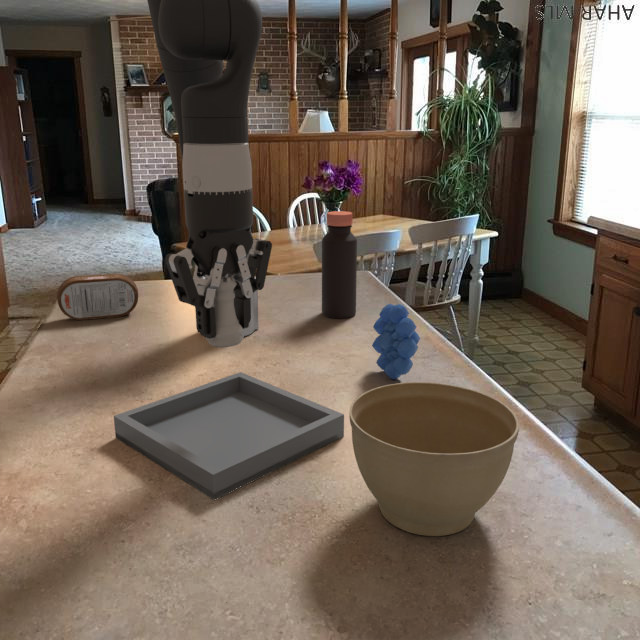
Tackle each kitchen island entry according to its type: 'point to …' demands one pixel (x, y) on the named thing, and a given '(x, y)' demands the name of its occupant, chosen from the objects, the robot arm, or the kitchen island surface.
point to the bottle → (339, 266)
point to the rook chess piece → (226, 315)
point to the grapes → (395, 340)
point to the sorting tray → (228, 432)
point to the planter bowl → (431, 452)
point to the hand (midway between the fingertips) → (224, 331)
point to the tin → (97, 296)
